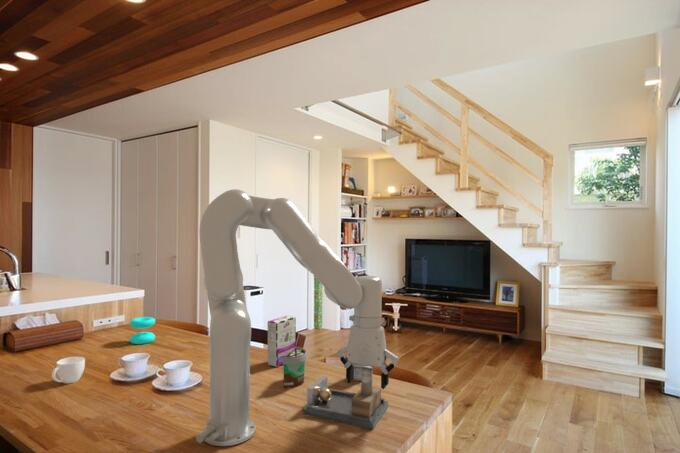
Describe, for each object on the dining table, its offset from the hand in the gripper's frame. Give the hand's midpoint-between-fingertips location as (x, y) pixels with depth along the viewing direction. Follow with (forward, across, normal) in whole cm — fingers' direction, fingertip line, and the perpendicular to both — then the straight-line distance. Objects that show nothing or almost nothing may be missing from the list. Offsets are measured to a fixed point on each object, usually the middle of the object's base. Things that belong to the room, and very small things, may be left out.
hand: (366, 384), depth 109 cm
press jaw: (+7, 0, 0) cm, 7 cm away
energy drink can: (+8, -11, +24) cm, 28 cm away
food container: (+8, -28, +12) cm, 32 cm away
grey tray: (+8, -6, 0) cm, 10 cm away
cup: (+8, -96, -18) cm, 98 cm away
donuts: (+9, -112, +25) cm, 115 cm away
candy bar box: (+8, -43, +27) cm, 51 cm away
